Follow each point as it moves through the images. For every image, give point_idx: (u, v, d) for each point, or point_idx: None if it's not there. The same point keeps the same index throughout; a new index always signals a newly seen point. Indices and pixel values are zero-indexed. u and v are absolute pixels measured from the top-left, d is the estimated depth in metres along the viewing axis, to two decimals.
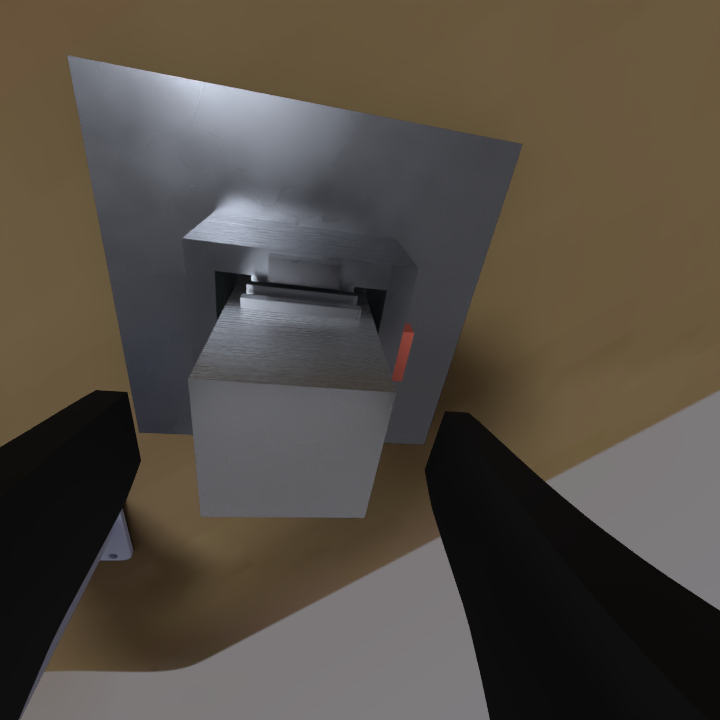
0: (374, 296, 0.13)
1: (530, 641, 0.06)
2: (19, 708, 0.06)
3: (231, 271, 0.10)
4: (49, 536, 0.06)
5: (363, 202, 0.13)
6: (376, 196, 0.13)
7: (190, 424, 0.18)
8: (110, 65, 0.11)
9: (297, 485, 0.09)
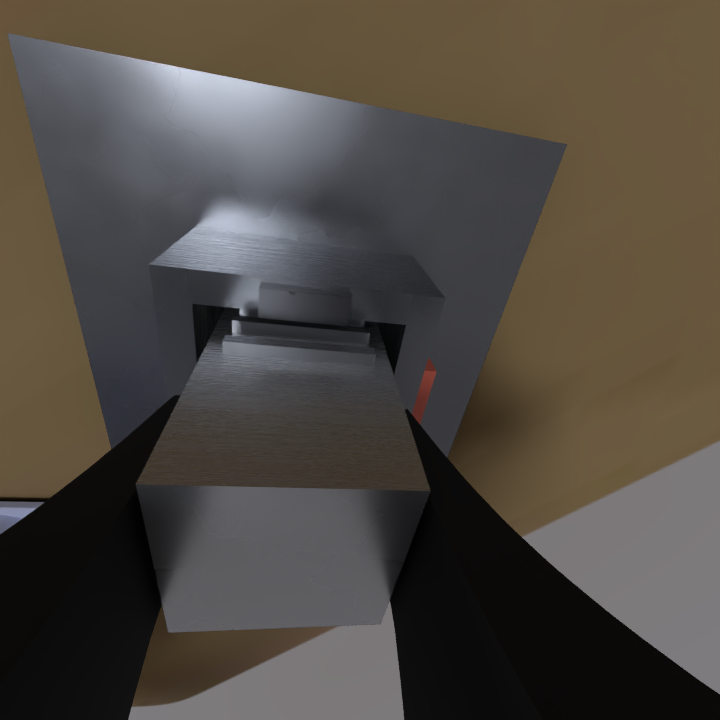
0: (388, 326, 0.11)
1: (433, 646, 0.05)
2: (131, 700, 0.06)
3: (213, 304, 0.08)
4: None
5: (374, 214, 0.11)
6: (391, 206, 0.11)
7: None
8: (62, 46, 0.08)
9: (294, 595, 0.07)
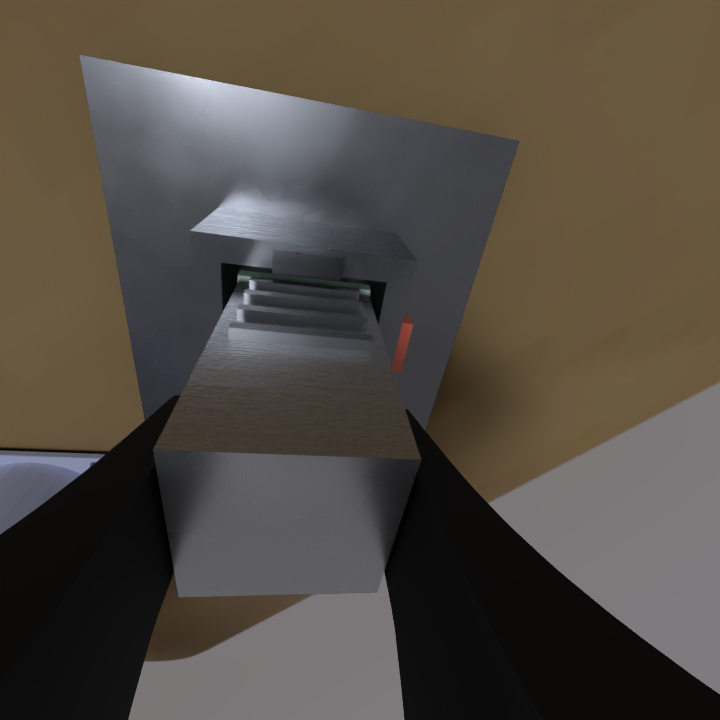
0: (374, 289, 0.14)
1: (434, 646, 0.05)
2: (131, 700, 0.06)
3: (237, 263, 0.11)
4: (154, 536, 0.06)
5: (363, 197, 0.14)
6: (377, 191, 0.14)
7: None
8: (120, 64, 0.11)
9: (296, 562, 0.07)
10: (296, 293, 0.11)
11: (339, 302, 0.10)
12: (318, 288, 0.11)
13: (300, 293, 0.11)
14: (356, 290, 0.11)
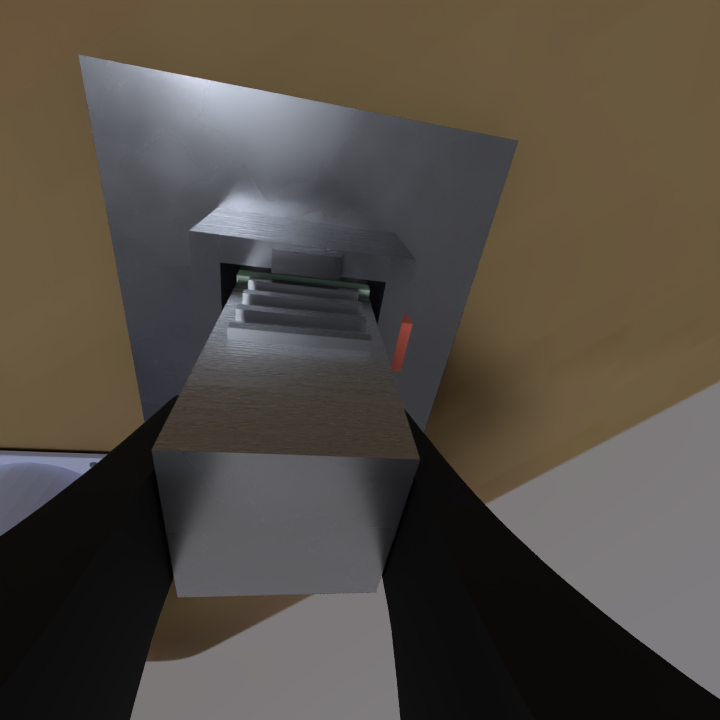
0: (374, 288, 0.14)
1: (429, 646, 0.05)
2: (132, 700, 0.06)
3: (236, 263, 0.11)
4: (155, 536, 0.06)
5: (363, 198, 0.14)
6: (376, 191, 0.14)
7: None
8: (119, 64, 0.11)
9: (295, 562, 0.07)
10: (295, 293, 0.11)
11: (338, 302, 0.10)
12: (317, 288, 0.11)
13: (299, 293, 0.11)
14: (355, 290, 0.11)
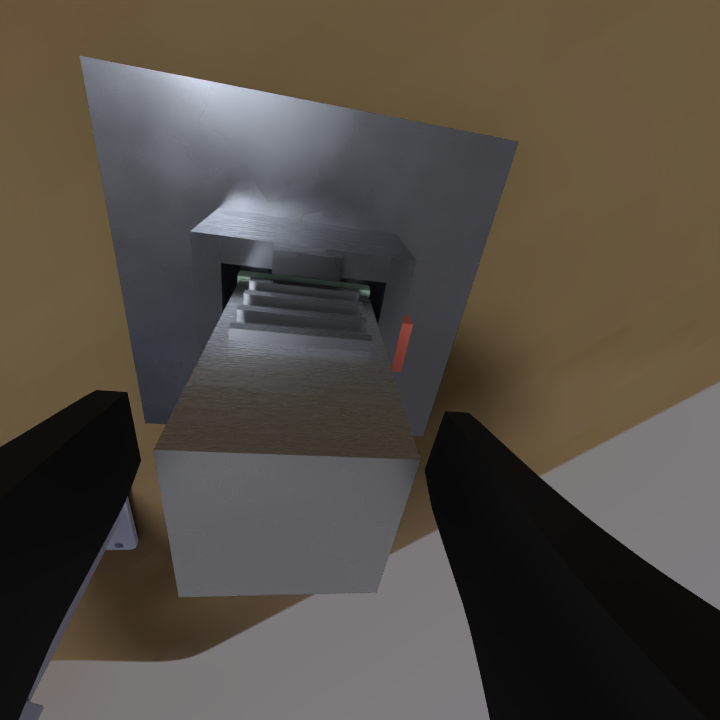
0: (374, 289, 0.14)
1: (530, 641, 0.06)
2: (20, 708, 0.06)
3: (236, 263, 0.11)
4: (49, 536, 0.06)
5: (363, 198, 0.14)
6: (376, 192, 0.14)
7: None
8: (120, 65, 0.11)
9: (296, 562, 0.07)
10: (296, 294, 0.11)
11: (339, 302, 0.10)
12: (318, 289, 0.11)
13: (300, 293, 0.11)
14: (356, 290, 0.11)
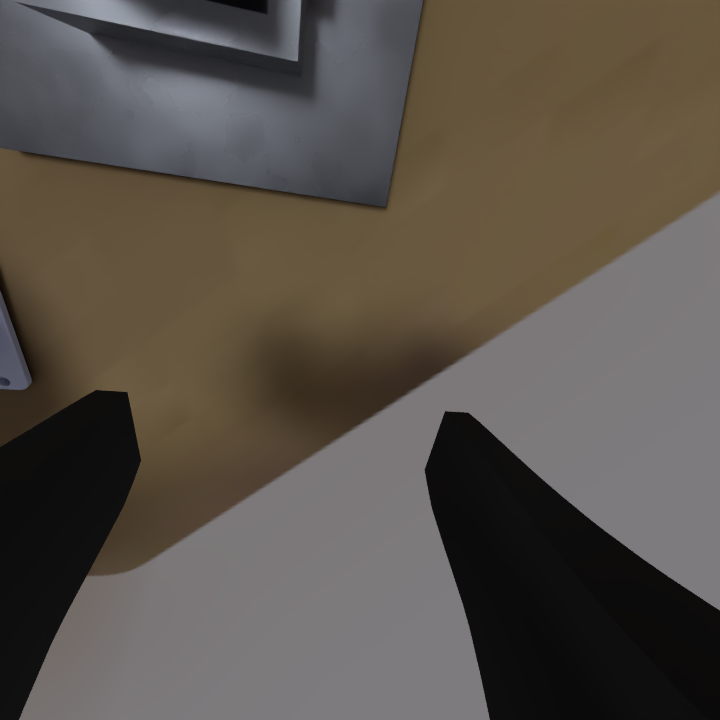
0: None
1: (530, 641, 0.06)
2: (19, 708, 0.06)
3: None
4: (49, 536, 0.06)
5: None
6: None
7: (64, 138, 0.13)
8: None
9: None
10: None
11: None
12: None
13: None
14: None
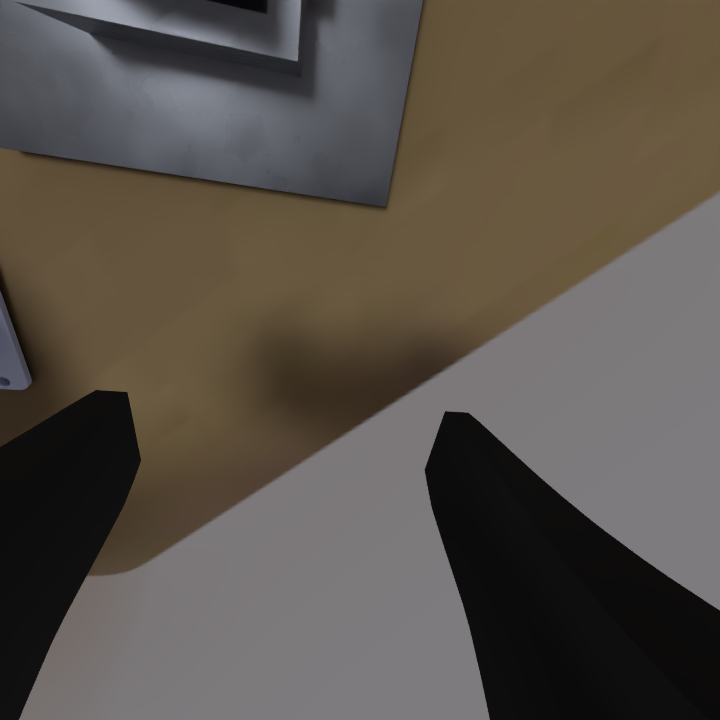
0: None
1: (530, 641, 0.06)
2: (19, 708, 0.06)
3: None
4: (49, 536, 0.06)
5: None
6: None
7: (64, 137, 0.13)
8: None
9: None
10: None
11: None
12: None
13: None
14: None
